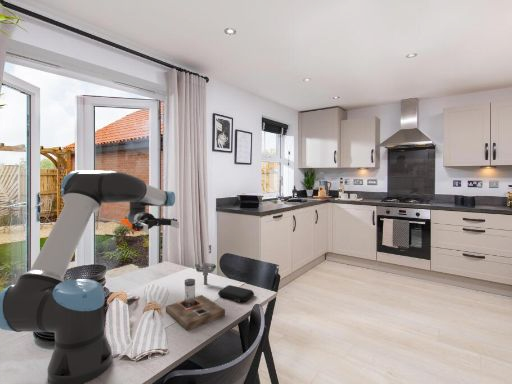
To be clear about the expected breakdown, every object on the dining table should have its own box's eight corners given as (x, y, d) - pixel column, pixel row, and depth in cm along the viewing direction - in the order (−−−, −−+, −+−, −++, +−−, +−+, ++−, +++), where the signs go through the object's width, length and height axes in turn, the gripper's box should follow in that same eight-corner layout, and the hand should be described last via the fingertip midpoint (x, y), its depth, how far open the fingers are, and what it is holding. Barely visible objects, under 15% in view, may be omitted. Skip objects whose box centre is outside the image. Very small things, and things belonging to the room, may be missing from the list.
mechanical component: (196, 281, 142) (196, 262, 142) (216, 283, 140) (216, 263, 140) (194, 284, 140) (194, 264, 139) (214, 286, 138) (214, 265, 137)
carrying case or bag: (214, 298, 125) (243, 306, 118) (214, 291, 125) (243, 298, 118) (228, 289, 134) (255, 296, 127) (228, 283, 134) (255, 289, 127)
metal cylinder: (187, 313, 110) (187, 283, 109) (182, 309, 113) (182, 280, 112) (197, 310, 113) (196, 280, 112) (191, 306, 116) (191, 277, 115)
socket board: (186, 330, 98) (186, 322, 98) (165, 312, 111) (165, 305, 111) (225, 315, 109) (225, 308, 109) (201, 300, 122) (201, 294, 121)
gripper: (169, 225, 145) (190, 232, 129) (116, 231, 128) (132, 239, 112) (169, 210, 144) (190, 215, 128) (116, 214, 128) (132, 220, 112)
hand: (163, 226), depth 120 cm, fingers open, 13 cm apart
